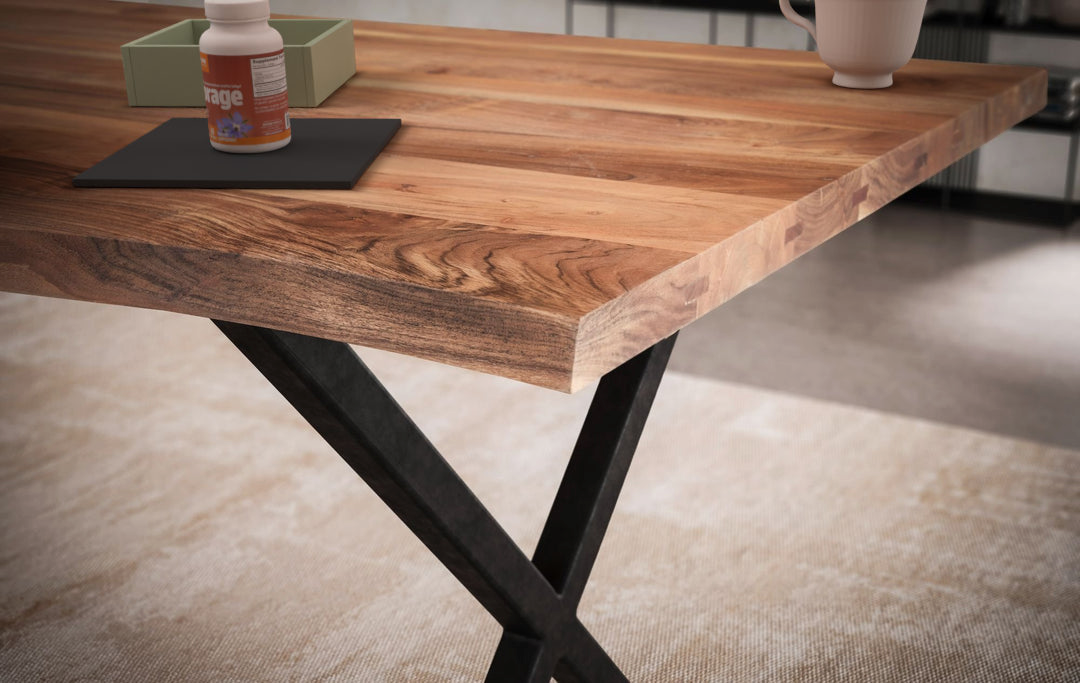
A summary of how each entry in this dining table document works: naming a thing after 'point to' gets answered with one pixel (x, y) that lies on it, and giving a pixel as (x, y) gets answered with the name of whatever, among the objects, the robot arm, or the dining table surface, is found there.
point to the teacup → (863, 37)
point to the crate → (176, 72)
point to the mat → (246, 157)
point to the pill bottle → (244, 78)
